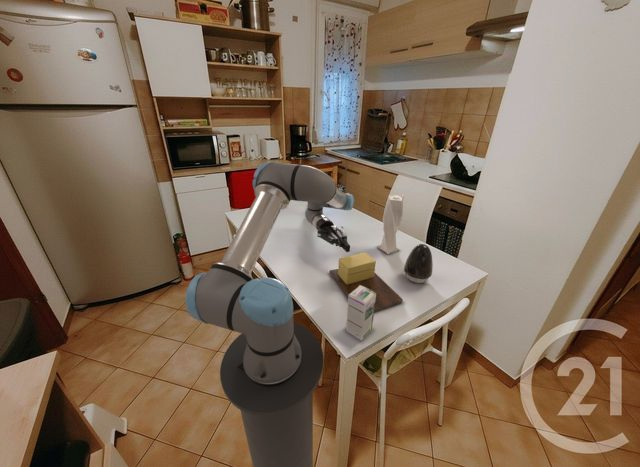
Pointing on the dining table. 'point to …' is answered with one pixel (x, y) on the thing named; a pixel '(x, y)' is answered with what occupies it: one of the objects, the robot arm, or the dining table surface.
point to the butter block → (355, 275)
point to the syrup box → (360, 312)
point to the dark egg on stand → (419, 264)
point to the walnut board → (375, 284)
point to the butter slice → (356, 263)
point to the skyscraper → (391, 223)
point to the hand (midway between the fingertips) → (348, 248)
